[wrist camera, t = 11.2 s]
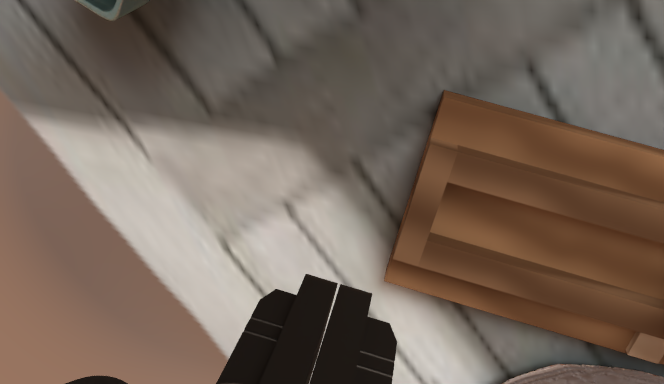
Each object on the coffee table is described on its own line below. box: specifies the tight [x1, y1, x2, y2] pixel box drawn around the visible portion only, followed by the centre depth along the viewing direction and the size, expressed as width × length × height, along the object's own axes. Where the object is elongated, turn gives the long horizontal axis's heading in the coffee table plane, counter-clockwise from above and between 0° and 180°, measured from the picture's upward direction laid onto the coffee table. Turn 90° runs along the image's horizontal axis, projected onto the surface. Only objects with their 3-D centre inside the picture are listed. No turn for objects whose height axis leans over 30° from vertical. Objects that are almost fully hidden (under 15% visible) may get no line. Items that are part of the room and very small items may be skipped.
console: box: [384, 90, 664, 365], centre depth 43 cm, size 16×28×4 cm, turn 77°
